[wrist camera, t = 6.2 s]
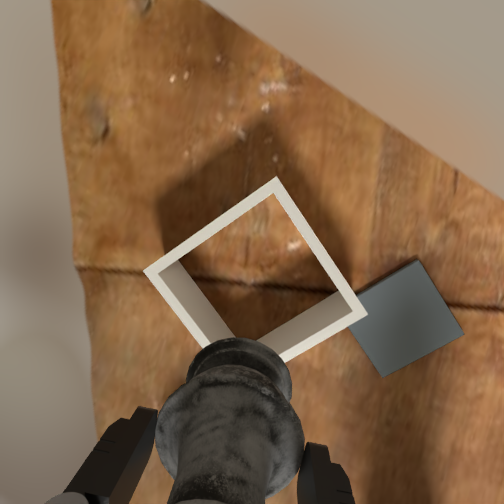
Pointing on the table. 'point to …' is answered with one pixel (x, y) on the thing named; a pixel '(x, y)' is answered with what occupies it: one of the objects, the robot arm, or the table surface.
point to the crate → (285, 336)
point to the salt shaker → (231, 427)
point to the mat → (403, 319)
